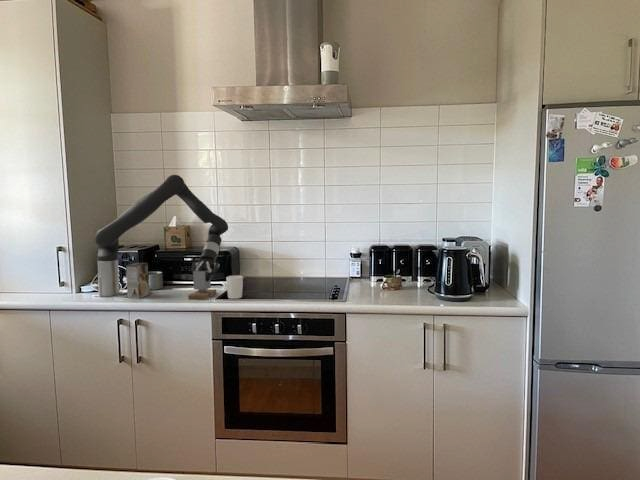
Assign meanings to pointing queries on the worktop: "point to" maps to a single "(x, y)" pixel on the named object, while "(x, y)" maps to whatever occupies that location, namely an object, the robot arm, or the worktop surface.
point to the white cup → (234, 286)
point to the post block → (202, 294)
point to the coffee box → (137, 280)
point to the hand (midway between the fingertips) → (200, 280)
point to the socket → (201, 279)
